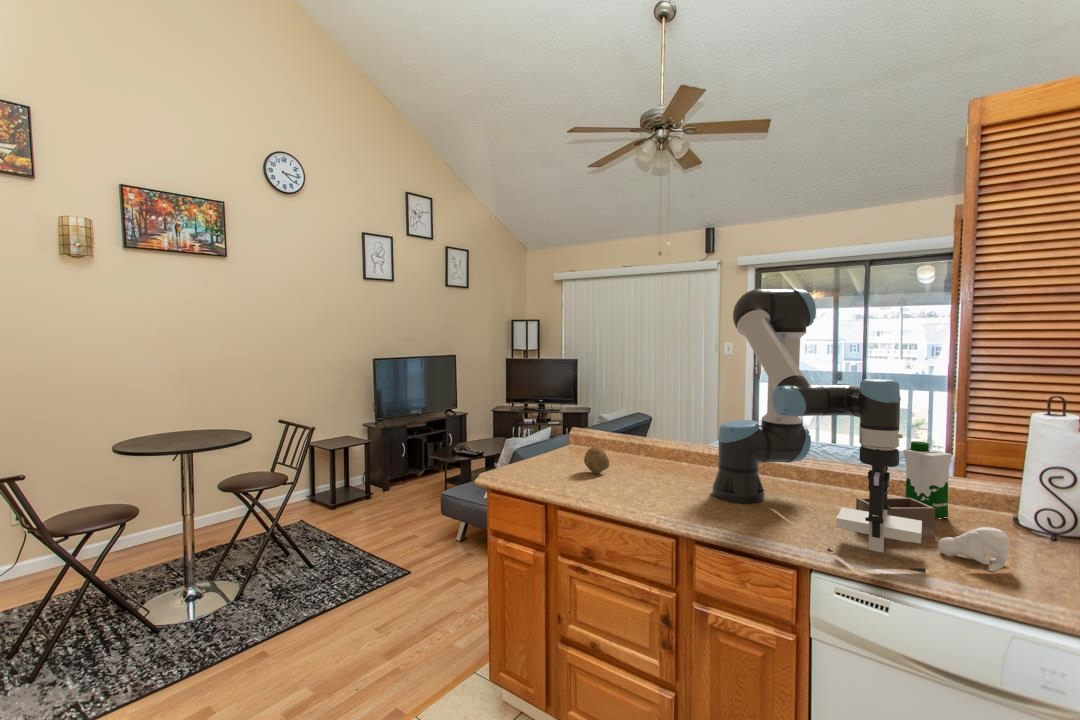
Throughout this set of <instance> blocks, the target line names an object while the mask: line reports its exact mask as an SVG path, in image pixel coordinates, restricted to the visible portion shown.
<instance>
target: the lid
mask: <svg viewBox="0 0 1080 720" xmlns="http://www.w3.org/2000/svg"><path fill="white" fill-rule="evenodd" d="M873 516H875V515H873ZM865 517H866V518H868V517H869V512H867V511H861V510H856V509H853V508H849V507H841V508H840V511H839V512H838V514H837V516H836V518H835V519H836V520H835V521H836V522H835V526H836V528H837V529H841V530H842V529H843V530H846V531H848V532H854V533H860V534H864V535H869V521H865ZM877 517H879V516H877ZM883 520H884V539H890V540H895V541H901V542H906V543H914V544H919V545H920V544H922V538H921V536H922V521H920V520H914V519H908V518H902V517H896V516H890V515H884V514H883Z"/></svg>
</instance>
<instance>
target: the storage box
mask: <svg viewBox="0 0 1080 720" xmlns="http://www.w3.org/2000/svg"><path fill="white" fill-rule="evenodd" d="M855 500H856V501H855V503H856V505H855V508H856V509H855V510H861V511H867V512H869V497H856V499H855ZM887 500H888V504H887V505H891V510H888V509H884V510H887V515H890V516H896V517H902V518H908V519H914V520H920V521H922V536H921V539H923V538H924V539H925V538H926V539H927V538H928V539H932V538H934V539H935V536H936V535H935V529H936V528H935V527H936V525H935V524H936V518H935V508H933V507H931V506H929V505H926V504H924V503H922V502H919V501H917V500H915V499H912V498H905V497H887Z"/></svg>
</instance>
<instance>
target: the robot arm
mask: <svg viewBox="0 0 1080 720" xmlns="http://www.w3.org/2000/svg"><path fill="white" fill-rule="evenodd" d="M732 311H733V312H732V319H733V320H732V321H733V324H734V326H735V328H736V330H737V332H738V333H739V334H740V335H741V336H744V337H745V339H746V341H748V344H749V345H750V347H751V350H752V351H753V352H754V354H755V356H756V358H757V360H758V361H759V363H760V366H761V367H762V368H763V370H764V372H765V373H766V375H767V403H766V404H767V405H766V406H767V407H766V408H767V410H766V414H764V415H763V416H762V417H761V424H759V422H758V421H756V420H751V419H746V420H745V419H743V420H742V419H739V420H731V421H727V422H724V423H723V424H721V425H720V426H719V429H718V437H717V439H718V470H717V472H716V473H717V474H716V475H715V479H714V482H713V484H712V495H713V496H714V497H715V498H718V499H720V500H723V501H727V502H730V503H731V502H733V503H739V504H755V503H760V502H762V501H764V500H765V490H764V486H763V483H762V480H761V477H760V474H759V464H761V463H785V464H788V463H795V462H800V461H802V460H804V459H805V458H806V457H807V456H808V455H809V452H810V449H811V445H812V437H811V434H810V430H809V428H808V427H807V426H805V425H804V422H803V421H804V420H803V419H802V418H800V417H808V416H810V417H811V416H821V417H822V416H824V417H825V416H831V417H832V416H851V417H856V418H859V430H858V431H859V434H858V435H859V438H858V439H859V441H858V442H859V443H860V445H861V446H859V461H860V463H862V464H865V465H870V466H871V469H868V472H867V479H868V491H869V495H868V496H869V497H868V498H869V517H868V518H866V517H865V521H869V534H868V550H869V551H874V552H877V553H878V552H879V553H884V552H885V551H884V550H885V549H884V548H885V545H884V544H885V538H884V520H883V514H884V515H887V510H884V509H888V510H891V505H887V504H888V500H887V498H888V489H889V485H890V478H891V477H890V476H891V473H890V471H888V469H889V468H895V467H898V466H899V465H900V450H899V449H898V447H900V439H903V438H904V436H903V434H902V433H900V425H901V424H900V422H901V421H900V417H901V415H900V414H901V400H902V397H901V393H900V392H901V391H900V384H899V382H898V381H896V379H895V380H893V379H882V378H881V379H878V378H874V379H873V378H866V379H862V380H861V381H860V385H852V384H848V383H834V384H829V385H827V384H826V385H823V384H822V385H821V384H820V385H811V384H810V383H809V381H808V380H807V379H806V377H805V376H804V374H803V372H802V371H801V369H800V361H801V360H800V359H801V358H800V356H801V355H800V353H801V338H802V337H803V336H804V335H806V333H807V328H808V327H810V326H811V325H812V324H813V323H815V322H814V320H815V319H816V316H817V307H816V303H815V300H814V298H813V296H812V295H811V294H810V292H808V291H807V290H805V289H799V288H791V287H790V288H757V289H756V288H754V289H752V290H749V291H747V292H745V293H744V294H743V295H742V296H740V297H739V299H737V301H736V303H735V305H734V308H733V310H732ZM873 515H875V516H873ZM877 516H879V517H877Z"/></svg>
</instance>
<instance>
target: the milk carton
mask: <svg viewBox="0 0 1080 720" xmlns="http://www.w3.org/2000/svg"><path fill="white" fill-rule="evenodd" d="M929 446H930V444H929V443H928V442H926V441H919V440H918V441H916V440H914V441H913V440H912V441H910V447H909V448H906V449H903V455H904V460H905V495H904V498H912V499H915V500H917V501H919V502H922V503H924V504H926V505H929V506H931V507H933V508H935V519H938V518H944V517H948V518H949V474H950V473H949V470H950V465H951V460H952V456H953V453H947V452H945V451H941V450H937V449H930V447H929Z"/></svg>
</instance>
